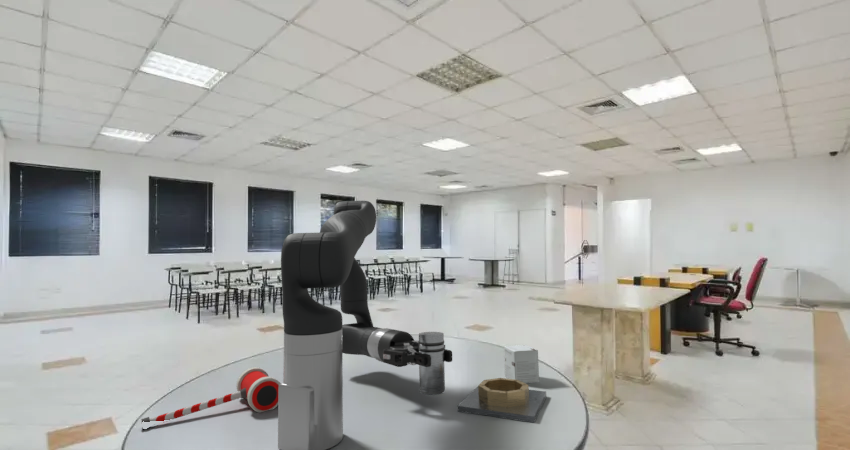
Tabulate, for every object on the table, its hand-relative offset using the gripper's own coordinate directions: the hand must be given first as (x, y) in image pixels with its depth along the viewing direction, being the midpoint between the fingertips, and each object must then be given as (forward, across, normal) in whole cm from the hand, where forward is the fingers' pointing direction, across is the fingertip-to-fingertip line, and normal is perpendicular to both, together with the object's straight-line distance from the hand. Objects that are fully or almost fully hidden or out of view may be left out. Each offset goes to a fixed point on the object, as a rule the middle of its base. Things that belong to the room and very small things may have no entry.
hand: (440, 358), depth 76 cm
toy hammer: (-28, -31, +10) cm, 43 cm away
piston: (-3, 0, +6) cm, 7 cm away
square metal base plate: (+7, +10, +9) cm, 15 cm away
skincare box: (0, +26, +9) cm, 27 cm away
